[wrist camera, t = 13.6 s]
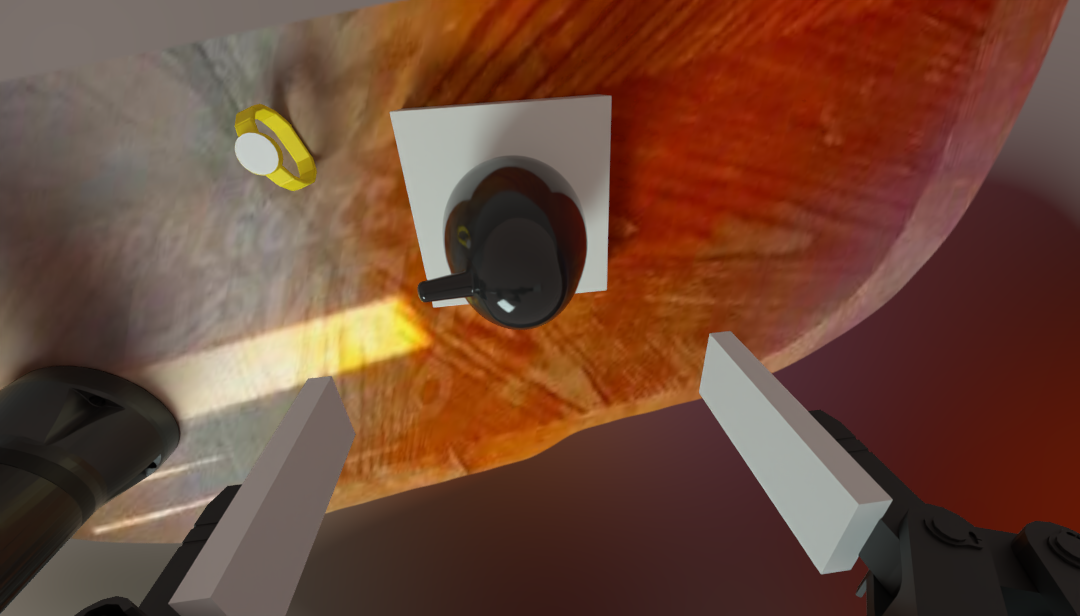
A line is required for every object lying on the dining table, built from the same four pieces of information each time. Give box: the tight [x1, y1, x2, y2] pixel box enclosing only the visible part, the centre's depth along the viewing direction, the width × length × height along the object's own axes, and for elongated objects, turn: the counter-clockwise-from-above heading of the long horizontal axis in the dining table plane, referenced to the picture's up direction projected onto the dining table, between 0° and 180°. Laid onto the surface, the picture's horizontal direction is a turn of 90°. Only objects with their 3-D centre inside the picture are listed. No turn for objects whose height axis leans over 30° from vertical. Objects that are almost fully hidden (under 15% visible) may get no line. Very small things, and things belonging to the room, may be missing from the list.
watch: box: [235, 104, 317, 191], centre depth 30 cm, size 6×3×6 cm, turn 22°
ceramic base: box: [390, 94, 612, 307], centre depth 34 cm, size 16×16×4 cm
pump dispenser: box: [418, 155, 588, 330], centre depth 26 cm, size 10×10×15 cm
